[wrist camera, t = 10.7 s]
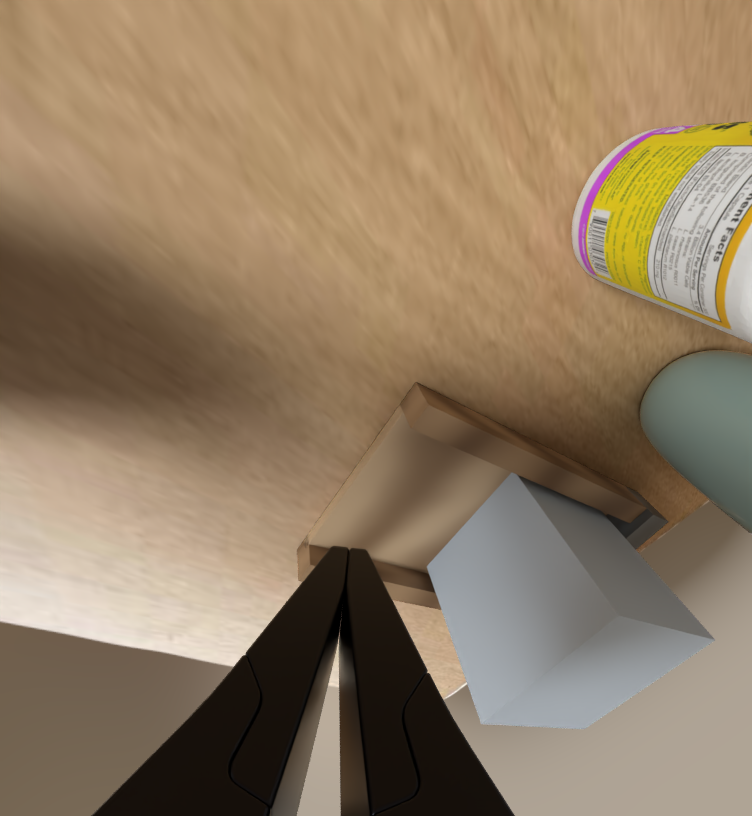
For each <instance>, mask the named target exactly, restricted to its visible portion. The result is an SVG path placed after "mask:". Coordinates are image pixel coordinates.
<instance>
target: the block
mask: <svg viewBox="0 0 752 816" xmlns="http://www.w3.org/2000/svg"><path fill="white" fill-rule="evenodd" d="M427 569H428V572H429V575H430V578H431V581H432V584H433V586H434V589H435V592H436V595H437V598H438V601H439V604H440V607H441V609H442V612H443V615H444V618H445V621H446V624H447V627H448V630H449V632H450V635H451V638H452V641H453V644H454V647H455V650H456V653H457V655H458V658H459V661H460V664H461V667H462V670H463V673H464V676H465V678H466V681H467V684H468V687H469V690H470V693H471V696H472V698H473V701H474V704H475V707H476V710H477V713H478V716H479V719H480V722H481V724H492V725H512V726H532V727H552V728H553V727H554V728H572V729H585V728H587V727H588V726H590V725H591V724H593V723H594V722H596V721H597V720H598V719H600V718H601V717H603V716H604V715H606V714H607V713H609V712H610V711H612V710H613V709H615V708H616V707H618V706H619V705H621V704H622V703H624V702H625V701H626V700H628V699H629V698H631V697H632V696H634V695H635V694H637V693H638V692H640V691H641V690H643V689H644V688H646V687H647V686H649V685H650V684H652V683H653V682H654V681H656V680H657V679H659V678H660V677H662V676H663V675H665V674H666V673H668V672H669V671H671V670H672V669H674V668H675V667H677V666H678V665H679V664H681V663H683V662H684V661H685V660H687V659H688V658H690V657H691V656H693V655H694V654H696V653H697V652H699V651H700V650H701V649H703V648H705V647H706V646H708V645H709V644H710V643H712V642H713V641H715V639H714V638H713V637H712V636H711V635H710V634H709V632H708V631H707V630H706V629H705V628H704V627H703V626H702V624H701V623H700V622H699V621H698V620H697V619H696V618H695V617H694V615H693V614H692V613H691V612H690V611H689V610H688V608H687V607H686V606H685V605H684V604H683V603H682V602H681V601H680V600H679V598H678V597H677V596H676V595H675V594H674V593H673V592H672V591H671V589H670V588H669V587H668V586H667V585H666V584H665V583H664V581H663V580H662V579H661V578H660V577H659V576H658V575H657V574H656V573H655V571H654V570H653V569H652V568H651V567H650V566H649V564H648V563H647V562H646V561H645V560H644V559H643V558H642V557H641V555H640V554H639V553H638V552H637V551H636V550H635V549H634V547H633V546H632V545H631V544H630V543H629V542H628V541H627V540H626V538H625V537H624V536H623V535H622V534H621V533H620V532H619V530H618V529H617V528H616V527H615V526H614V525H613V524H612V523H611V521H610V520H609V519H608V518H607V517H606V516H605V515H604V513H603V512H602V511H600V510H598V509H596V508H593V507H591V506H589V505H586V504H584V503H582V502H579V501H577V500H575V499H572V498H570V497H568V496H565V495H563V494H561V493H559V492H556V491H554V490H552V489H549V488H547V487H545V486H542V485H540V484H538V483H535V482H533V481H531V480H528V479H526V478H524V477H521V476H519V475H517V474H515V473H511V474H510V475H509V476H508V477H507V478H506V479H505V480H504V481H503V483H502V484H501V485H500V486H499V487H498V488H497V489H496V490H495V491H494V493H493V494H492V495H491V496H490V497H489V498H488V499H487V500H486V501H485V502H484V504H483V505H482V506H481V507H480V508H479V509H478V510H477V511H476V512H475V514H474V515H473V516H472V517H471V518H470V519H469V520H468V521H467V522H466V523H465V525H464V526H463V527H462V528H461V529H460V530H459V531H458V532H457V533H456V535H455V536H454V537H453V538H452V539H451V540H450V541H449V542H448V543H447V545H446V546H445V547H444V548H443V549H442V550H441V551H440V552H439V553H438V554H437V556H436V557H435V558H434V559H433V560H432V561H431V562H430V563H429V564H428V566H427Z"/></svg>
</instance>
